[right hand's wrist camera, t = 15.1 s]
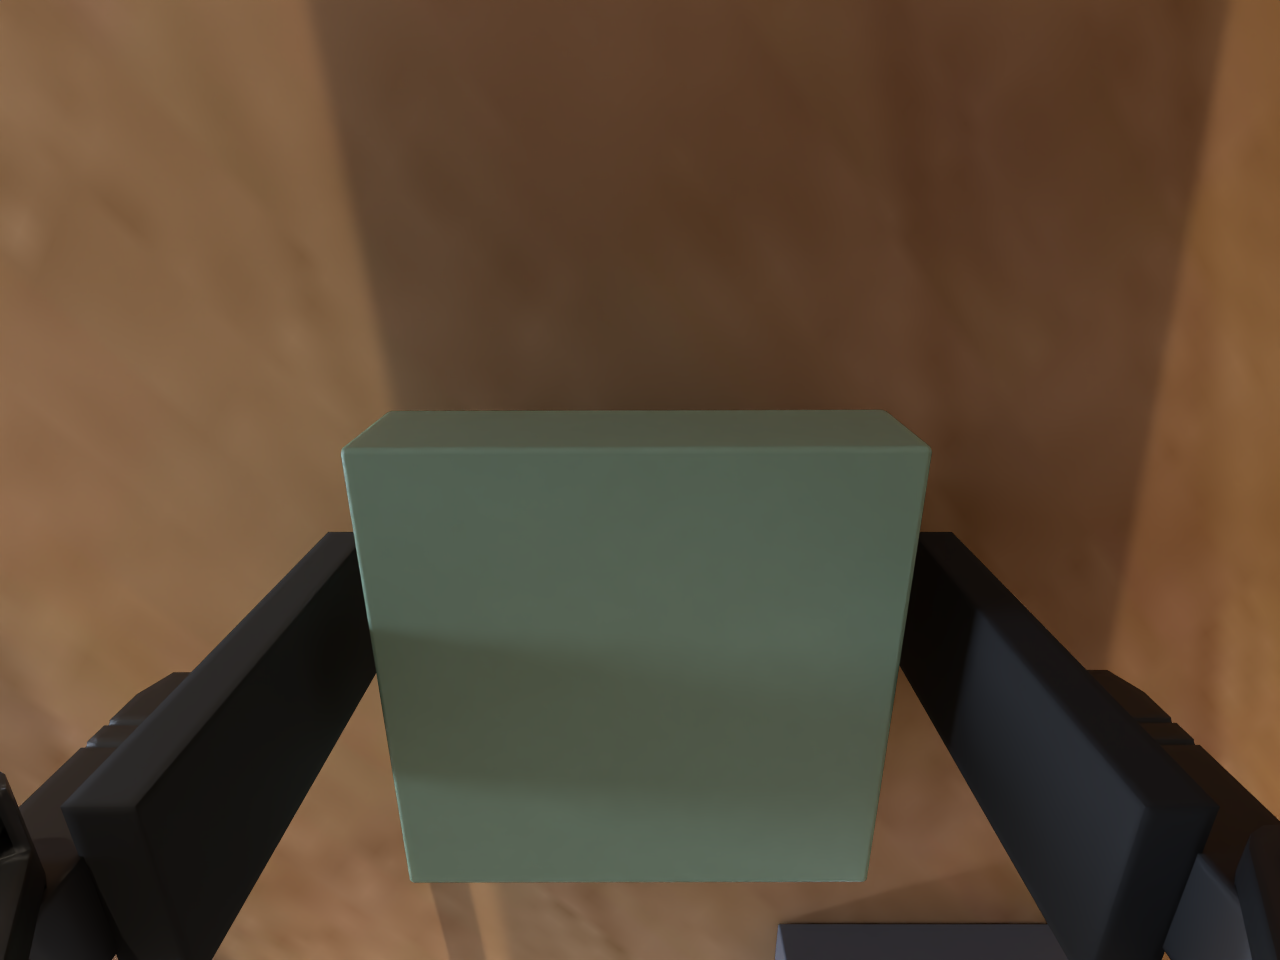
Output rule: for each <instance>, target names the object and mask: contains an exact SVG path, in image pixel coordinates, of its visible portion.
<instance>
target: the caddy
mask: <svg viewBox="0 0 1280 960" xmlns="http://www.w3.org/2000/svg"><path fill="white" fill-rule="evenodd" d="M775 960H1068V958H1067V957H1066V955H1065V953H1064V951H1063V950H1062V948H1061V946H1060V944H1059V943H1058V941H1057V939H1056V937H1055V936H1054V934H1053V932H1052V930H1051V929H1050V927H1049V925H1048V924H779V925H778V933H777V943H776V953H775Z"/></svg>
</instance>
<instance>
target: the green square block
mask: <svg viewBox="0 0 1280 960" xmlns="http://www.w3.org/2000/svg"><path fill="white" fill-rule="evenodd" d="M931 454H932V451H931V447H930V446H929V445H927V444H926V443H925V442H924V441H922V440H921V439H920V438H919V437H918V436H916V435H915V434H914V433H913V432H911V431H910V430H909V429H908V428H906V427H905V426H904V425H903V424H901V423H900V422H899V421H898V420H896V419H895V418H894V417H893V416H892V415H890V414H889V413H888V412H887V411H884V410H598V411H390V412H388V413H386V414H385V415H384V416H382V417H381V418H380V419H379V420H377V421H376V422H375V423H374V424H372V425H371V426H370V427H369V428H367V429H366V430H365V431H364V432H362V433H361V434H360V435H358V436H357V437H356V438H355V439H353V440H352V441H351V442H350V443H348V444H347V445H346V446H345V447H343V448H342V451H341V458H342V464H343V470H344V477H345V483H346V489H347V495H348V501H349V507H350V513H351V520H352V526H353V532H354V538H355V544H356V550H357V557H358V563H359V569H360V575H361V581H362V587H363V593H364V600H365V606H366V612H367V618H368V624H369V630H370V636H371V643H372V649H373V655H374V661H375V667H376V673H377V680H378V686H379V692H380V698H381V704H382V710H383V716H384V723H385V729H386V735H387V741H388V747H389V753H390V760H391V766H392V772H393V778H394V784H395V790H396V796H397V803H398V809H399V815H400V821H401V827H402V833H403V840H404V846H405V852H406V858H407V864H408V870H409V876H410V880H411V881H412V882H414V883H469V882H863V881H865V880H866V879H867V873H868V867H869V860H870V854H871V847H872V840H873V834H874V827H875V821H876V814H877V808H878V801H879V795H880V788H881V782H882V775H883V768H884V762H885V755H886V749H887V742H888V736H889V729H890V723H891V716H892V710H893V703H894V696H895V690H896V683H897V677H898V670H899V664H900V657H901V651H902V644H903V638H904V631H905V624H906V618H907V611H908V605H909V598H910V592H911V585H912V579H913V572H914V566H915V559H916V552H917V546H918V539H919V533H920V526H921V520H922V513H923V507H924V500H925V494H926V487H927V480H928V474H929V467H930V461H931Z"/></svg>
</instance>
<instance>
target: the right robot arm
mask: <svg viewBox="0 0 1280 960" xmlns="http://www.w3.org/2000/svg"><path fill="white" fill-rule="evenodd" d="M899 665H900V667H901V669H902V671H903V672H904V674H905V676H906V678H907V679H908V681H909V683H910V685H911V686H912V688H913V690H914V692H915V693H916V695H917V697H918V698H919V700H920V702H921V704H922V705H923V707H924V709H925V711H926V712H927V714H928V716H929V718H930V719H931V721H932V723H933V725H934V726H935V728H936V730H937V732H938V733H939V735H940V737H941V739H942V740H943V742H944V744H945V746H946V747H947V749H948V751H949V753H950V754H951V756H952V758H953V760H954V761H955V763H956V765H957V767H958V768H959V770H960V772H961V774H962V775H963V777H964V779H965V780H966V782H967V784H968V786H969V787H970V789H971V791H972V793H973V794H974V796H975V798H976V800H977V801H978V803H979V805H980V807H981V808H982V810H983V812H984V814H985V815H986V817H987V819H988V821H989V822H990V824H991V826H992V828H993V829H994V831H995V833H996V835H997V836H998V838H999V840H1000V842H1001V843H1002V845H1003V847H1004V849H1005V850H1006V852H1007V854H1008V855H1009V857H1010V859H1011V861H1012V862H1013V864H1014V866H1015V868H1016V869H1017V871H1018V873H1019V875H1020V876H1021V878H1022V880H1023V882H1024V883H1025V885H1026V887H1027V889H1028V890H1029V892H1030V894H1031V896H1032V897H1033V899H1034V901H1035V903H1036V904H1037V906H1038V908H1039V910H1040V911H1041V913H1042V915H1043V917H1044V918H1045V920H1046V922H1047V924H1048V925H1049V927H1050V929H1051V930H1052V932H1053V934H1054V936H1055V937H1056V939H1057V941H1058V943H1059V944H1060V946H1061V948H1062V950H1063V951H1064V953H1065V955H1066V957H1067V958H1068V960H1162V957H1163V955H1164V952H1166V954H1167V955H1168V956H1169V958H1170V959H1171V960H1280V821H1279V820H1278V819H1277V818H1276V817H1275V816H1274V815H1273V814H1272V813H1271V812H1270V811H1269V810H1267V809H1266V808H1265V807H1264V806H1263V805H1262V804H1261V803H1260V802H1259V801H1258V800H1257V799H1256V798H1255V797H1254V796H1253V795H1252V794H1251V793H1250V792H1249V791H1247V790H1246V789H1245V788H1244V787H1243V786H1242V785H1241V784H1240V783H1239V782H1238V781H1237V780H1236V779H1235V778H1234V777H1233V776H1232V775H1231V774H1230V773H1229V772H1228V771H1226V770H1225V769H1224V768H1223V767H1222V766H1221V765H1220V764H1219V763H1218V762H1217V761H1216V760H1215V759H1214V758H1213V757H1212V756H1211V755H1210V754H1209V753H1208V752H1206V751H1205V750H1204V749H1203V748H1202V747H1201V746H1200V745H1195V744H1194V739H1193V738H1192V737H1191V736H1190V735H1189V734H1188V733H1187V732H1185V731H1184V730H1183V729H1182V728H1181V727H1180V726H1179V725H1178V724H1177V723H1172V722H1171V717H1170V716H1169V715H1168V714H1167V713H1165V712H1164V711H1163V710H1162V709H1161V708H1160V707H1159V706H1158V705H1157V704H1156V703H1155V702H1154V701H1153V700H1152V699H1151V698H1150V697H1149V696H1148V695H1147V694H1146V693H1144V692H1143V691H1141V690H1140V689H1138V688H1136V687H1135V686H1133V685H1131V684H1130V683H1128V682H1126V681H1125V680H1123V679H1121V678H1120V677H1118V676H1116V675H1115V674H1113V673H1111V672H1109V671H1108V670H1086V669H1085V668H1084V667H1083V666H1082V665H1081V664H1080V663H1079V662H1078V661H1077V660H1076V659H1075V658H1074V657H1073V656H1072V655H1071V654H1070V653H1069V652H1068V651H1067V650H1066V649H1065V648H1064V646H1063V645H1062V644H1061V643H1060V642H1059V641H1058V640H1057V639H1056V638H1055V637H1054V636H1053V635H1052V634H1051V633H1050V632H1049V631H1048V630H1047V629H1046V628H1045V627H1044V626H1043V625H1042V624H1041V623H1040V622H1039V621H1038V620H1037V619H1036V618H1035V617H1034V616H1033V615H1032V614H1031V613H1030V612H1029V611H1028V610H1027V609H1026V608H1025V607H1024V606H1023V604H1022V603H1021V602H1020V601H1019V600H1018V599H1017V598H1016V597H1015V596H1014V595H1013V594H1012V593H1011V592H1010V591H1009V590H1008V589H1007V588H1006V587H1005V586H1004V585H1003V584H1002V583H1001V582H1000V581H999V580H998V579H997V578H996V577H995V576H994V575H993V574H992V573H991V572H990V571H989V570H988V569H987V568H986V567H985V566H984V565H983V564H982V562H981V561H980V560H979V559H978V558H977V557H976V556H975V555H974V554H973V553H972V552H971V551H970V550H969V549H968V548H967V547H966V546H965V545H964V544H963V543H962V542H961V541H960V540H959V539H958V538H957V537H956V536H955V535H954V534H953V533H952V532H920V533H919V539H918V546H917V552H916V559H915V566H914V572H913V579H912V585H911V592H910V598H909V605H908V611H907V618H906V624H905V631H904V638H903V644H902V651H901V657H900V664H899ZM375 674H376V667H375V661H374V655H373V649H372V643H371V636H370V630H369V624H368V618H367V612H366V606H365V600H364V593H363V587H362V581H361V575H360V569H359V563H358V557H357V550H356V544H355V538H354V532H328V533H327V534H326V535H325V536H324V537H323V538H322V539H321V540H320V541H319V542H318V543H317V544H316V545H315V546H314V547H313V548H312V549H311V550H310V551H309V552H308V553H307V554H306V555H305V556H304V557H303V558H302V559H301V560H300V561H299V562H298V564H297V565H296V566H295V567H294V568H293V569H292V570H291V571H290V572H289V573H288V574H287V575H286V576H285V577H284V578H283V579H282V580H281V581H280V582H279V583H278V584H277V585H276V586H275V587H274V588H273V589H272V590H271V591H270V592H269V593H268V594H267V595H266V596H265V597H264V598H263V599H262V600H261V601H260V602H259V603H258V604H257V605H256V607H255V608H254V609H253V610H252V611H251V612H250V613H249V614H248V615H247V616H246V617H245V618H244V619H243V620H242V621H241V622H240V623H239V624H238V625H237V626H236V627H235V628H234V629H233V630H232V631H231V632H230V633H229V634H228V635H227V636H226V637H225V638H224V639H223V640H222V641H221V642H220V643H219V644H218V645H217V646H216V647H215V649H214V650H213V651H212V652H211V653H210V654H209V655H208V656H207V657H206V658H205V659H204V660H203V661H202V662H201V663H200V664H199V665H198V666H197V667H196V668H195V669H194V670H193V671H192V672H173V673H172V674H170V675H168V676H167V677H165V678H163V679H162V680H160V681H158V682H157V683H155V684H153V685H152V686H150V687H148V688H147V689H145V690H143V691H142V692H140V693H138V694H137V695H136V696H135V697H134V698H132V699H131V700H130V701H129V702H128V703H127V704H126V705H125V706H124V707H123V708H122V709H121V710H120V711H119V712H118V713H117V714H116V715H115V716H114V717H113V718H112V719H111V720H110V723H109V725H104V726H103V727H102V728H101V729H100V730H99V731H98V732H97V733H96V734H95V735H94V736H93V737H92V738H91V739H90V740H89V741H88V742H87V746H86V748H80V749H79V750H78V751H77V752H76V753H75V754H74V755H73V756H72V757H71V758H70V759H69V760H68V761H67V762H66V763H65V764H64V765H62V766H61V767H60V768H59V769H58V770H57V771H56V772H55V773H54V774H53V775H52V776H51V777H50V778H49V779H48V780H47V781H46V782H45V783H44V784H43V785H42V786H41V787H40V788H38V789H37V790H36V791H35V792H34V793H33V794H32V795H31V796H30V797H29V798H28V799H27V800H26V801H25V802H24V803H23V804H22V805H21V806H20V807H18V805H17V802H16V800H15V797H14V795H13V792H12V790H11V788H10V785H9V783H8V780H7V778H6V775H5V774H3V773H2V772H0V960H112V959H113V958H114V956H115V955H117V958H118V960H212V958H213V957H214V955H215V953H216V951H217V950H218V948H219V946H220V944H221V943H222V941H223V939H224V937H225V936H226V934H227V932H228V930H229V929H230V927H231V925H232V923H233V922H234V920H235V918H236V917H237V915H238V913H239V911H240V910H241V908H242V906H243V904H244V903H245V901H246V899H247V897H248V896H249V894H250V892H251V890H252V889H253V887H254V885H255V883H256V882H257V880H258V878H259V876H260V875H261V873H262V871H263V869H264V868H265V866H266V864H267V862H268V861H269V859H270V857H271V855H272V854H273V852H274V850H275V848H276V847H277V845H278V843H279V842H280V840H281V838H282V836H283V835H284V833H285V831H286V829H287V828H288V826H289V824H290V822H291V821H292V819H293V817H294V815H295V814H296V812H297V810H298V808H299V807H300V805H301V803H302V801H303V800H304V798H305V796H306V794H307V793H308V791H309V789H310V787H311V786H312V784H313V782H314V780H315V779H316V777H317V775H318V773H319V772H320V770H321V768H322V767H323V765H324V763H325V761H326V760H327V758H328V756H329V754H330V753H331V751H332V749H333V747H334V746H335V744H336V742H337V740H338V739H339V737H340V735H341V733H342V732H343V730H344V728H345V726H346V725H347V723H348V721H349V719H350V718H351V716H352V714H353V712H354V711H355V709H356V707H357V705H358V704H359V702H360V700H361V698H362V697H363V695H364V693H365V691H366V690H367V688H368V686H369V685H370V683H371V681H372V679H373V678H374V676H375Z"/></svg>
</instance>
